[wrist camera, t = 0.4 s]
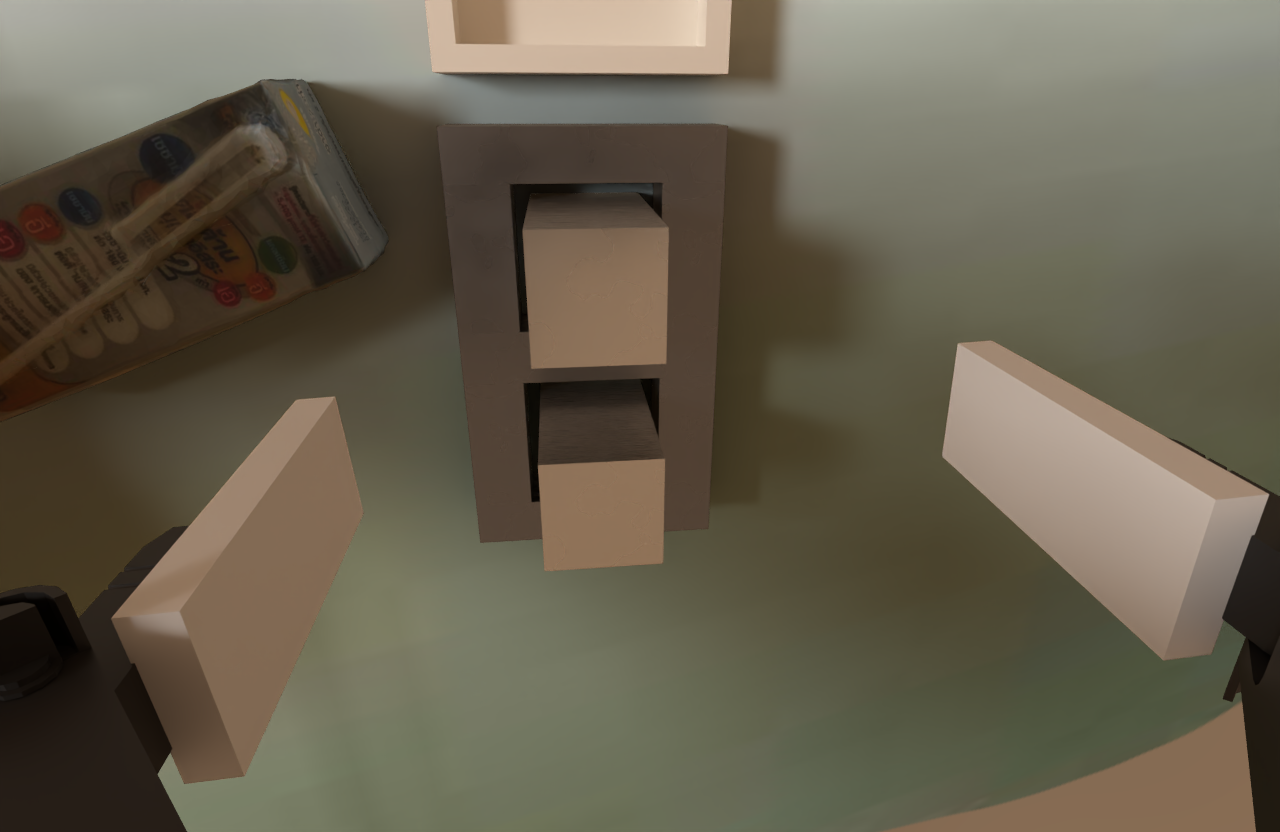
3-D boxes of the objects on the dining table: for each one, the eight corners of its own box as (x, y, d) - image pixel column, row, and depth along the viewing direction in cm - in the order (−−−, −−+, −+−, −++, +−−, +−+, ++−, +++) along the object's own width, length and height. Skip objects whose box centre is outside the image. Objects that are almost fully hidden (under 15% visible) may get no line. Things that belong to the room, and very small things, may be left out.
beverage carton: (401, 248, 34) (369, 281, 28) (39, 394, 35) (-68, 457, 29) (311, 73, 31) (253, 68, 25) (-87, 240, 31) (-238, 274, 25)
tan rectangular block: (536, 298, 35) (531, 368, 26) (530, 193, 33) (522, 229, 24) (637, 296, 36) (666, 363, 27) (637, 192, 34) (668, 227, 25)
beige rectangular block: (545, 460, 39) (544, 571, 30) (540, 374, 37) (537, 465, 28) (637, 456, 40) (663, 563, 30) (637, 371, 37) (664, 458, 28)
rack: (485, 512, 40) (480, 542, 37) (446, 123, 32) (437, 126, 29) (697, 500, 41) (708, 528, 38) (713, 123, 33) (727, 125, 30)
